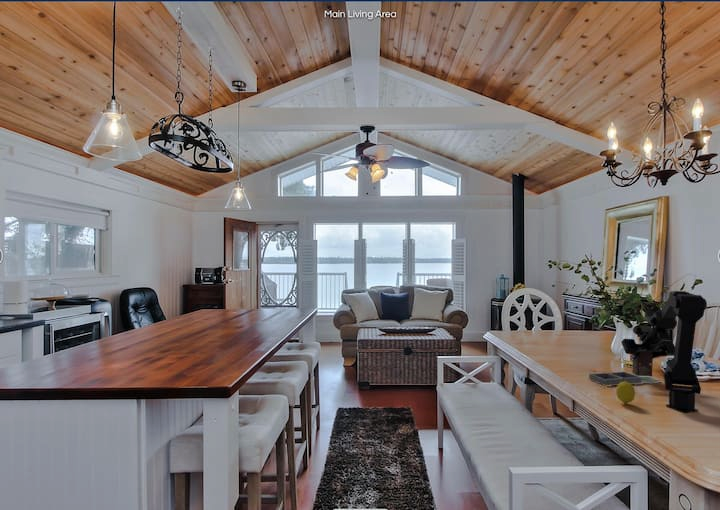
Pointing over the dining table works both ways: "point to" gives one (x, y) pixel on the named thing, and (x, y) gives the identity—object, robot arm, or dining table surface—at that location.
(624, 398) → the lemon
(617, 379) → the tray
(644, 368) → the box
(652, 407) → the dining table surface
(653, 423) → the dining table surface
